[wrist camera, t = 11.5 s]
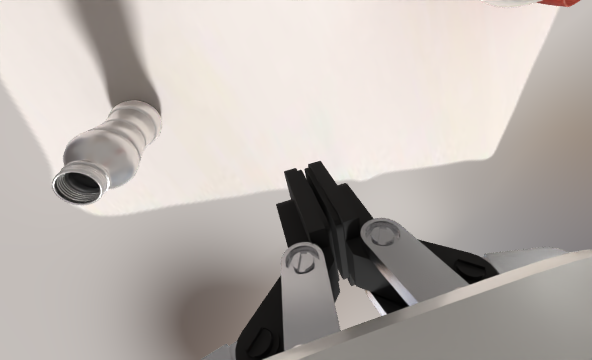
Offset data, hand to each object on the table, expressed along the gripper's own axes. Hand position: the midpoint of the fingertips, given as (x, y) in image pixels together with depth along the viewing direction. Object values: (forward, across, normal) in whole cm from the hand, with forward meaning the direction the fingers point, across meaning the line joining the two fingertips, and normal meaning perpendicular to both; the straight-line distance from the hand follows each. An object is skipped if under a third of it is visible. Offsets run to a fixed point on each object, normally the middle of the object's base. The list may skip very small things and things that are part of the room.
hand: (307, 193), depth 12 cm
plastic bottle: (+33, +18, +2) cm, 38 cm away
